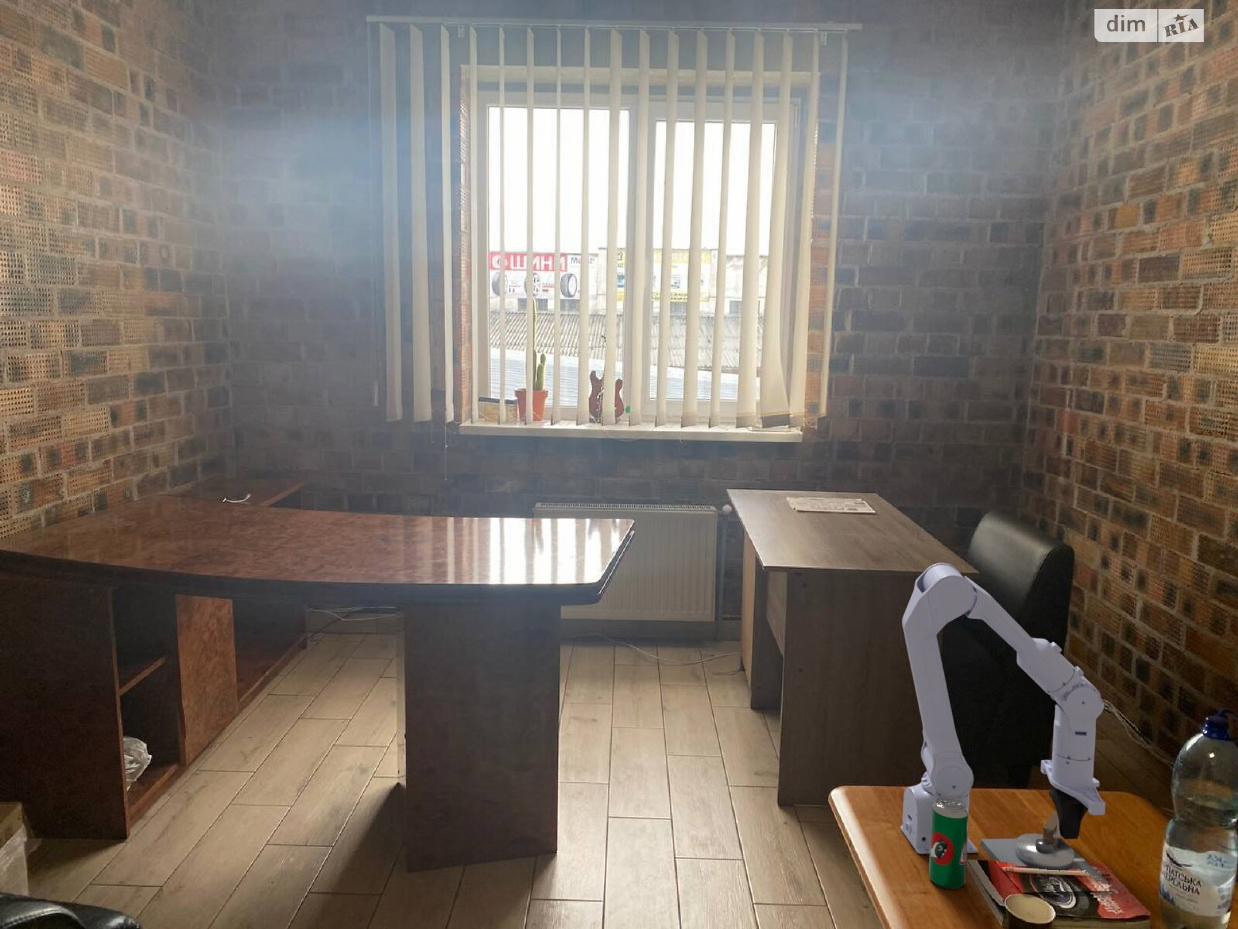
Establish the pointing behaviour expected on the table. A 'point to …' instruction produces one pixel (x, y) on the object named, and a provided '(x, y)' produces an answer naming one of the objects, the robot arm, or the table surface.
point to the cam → (1046, 848)
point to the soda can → (948, 842)
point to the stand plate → (1006, 853)
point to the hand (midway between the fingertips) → (1068, 837)
